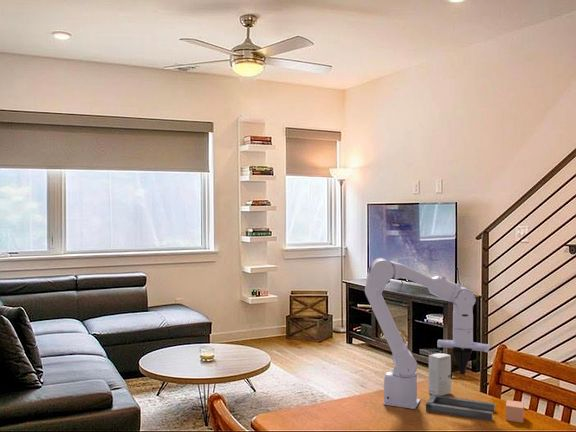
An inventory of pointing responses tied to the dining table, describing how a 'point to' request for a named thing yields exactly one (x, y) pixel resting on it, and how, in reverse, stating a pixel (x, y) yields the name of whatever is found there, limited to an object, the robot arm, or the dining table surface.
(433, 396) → the grey tray
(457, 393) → the dining table surface
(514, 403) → the block
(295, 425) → the dining table surface
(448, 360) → the skincare box
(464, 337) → the robot arm
